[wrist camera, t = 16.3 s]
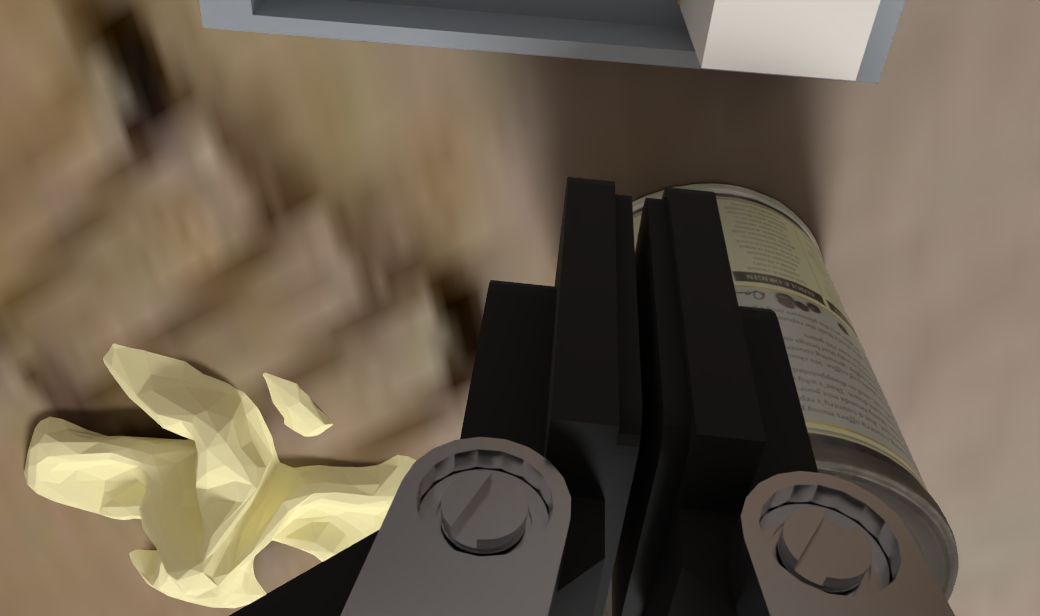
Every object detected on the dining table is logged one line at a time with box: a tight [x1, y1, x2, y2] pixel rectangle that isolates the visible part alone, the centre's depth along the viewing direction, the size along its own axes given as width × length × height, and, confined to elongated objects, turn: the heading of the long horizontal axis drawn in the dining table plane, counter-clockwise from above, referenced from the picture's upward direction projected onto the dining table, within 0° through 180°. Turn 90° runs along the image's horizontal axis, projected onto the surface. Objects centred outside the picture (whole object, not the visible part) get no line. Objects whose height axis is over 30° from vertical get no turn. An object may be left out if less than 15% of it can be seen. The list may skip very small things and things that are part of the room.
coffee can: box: [603, 183, 958, 616], centre depth 29 cm, size 10×10×14 cm
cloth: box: [24, 344, 416, 608], centre depth 40 cm, size 22×19×6 cm
